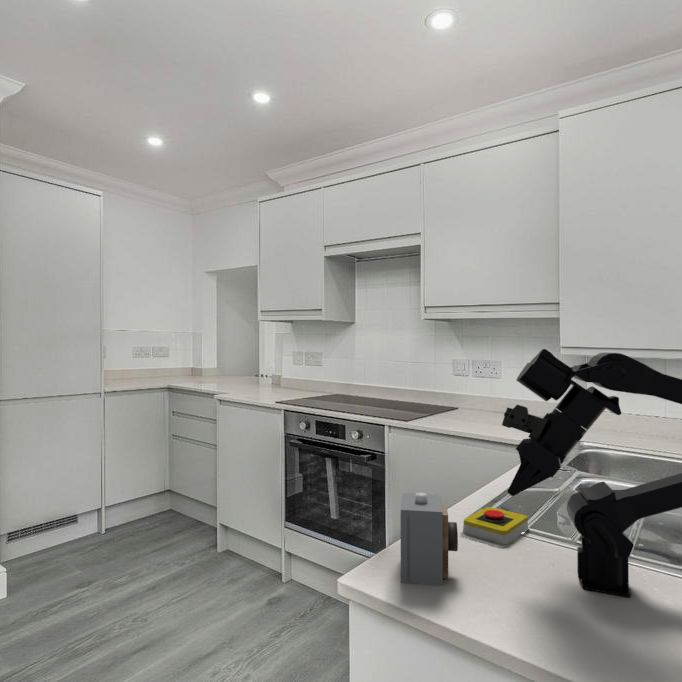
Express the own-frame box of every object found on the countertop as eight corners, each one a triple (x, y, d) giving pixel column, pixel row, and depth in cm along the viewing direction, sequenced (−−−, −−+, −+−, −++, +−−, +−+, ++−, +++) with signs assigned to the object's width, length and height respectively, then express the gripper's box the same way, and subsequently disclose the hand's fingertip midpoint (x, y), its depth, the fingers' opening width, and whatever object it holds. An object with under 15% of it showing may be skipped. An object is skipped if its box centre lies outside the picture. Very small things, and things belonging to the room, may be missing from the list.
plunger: (455, 564, 81) (455, 505, 81) (458, 578, 76) (457, 515, 76) (416, 561, 82) (416, 503, 82) (416, 575, 77) (416, 513, 77)
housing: (440, 560, 83) (439, 487, 83) (442, 585, 75) (442, 504, 75) (402, 557, 84) (402, 486, 84) (400, 582, 76) (400, 502, 76)
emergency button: (457, 515, 94) (491, 498, 105) (457, 538, 94) (491, 518, 105) (502, 527, 88) (533, 507, 99) (502, 551, 88) (534, 528, 99)
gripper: (532, 391, 88) (480, 457, 90) (520, 384, 72) (457, 464, 74) (588, 431, 83) (531, 499, 85) (589, 432, 67) (519, 517, 69)
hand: (510, 493), depth 79 cm, fingers closed
